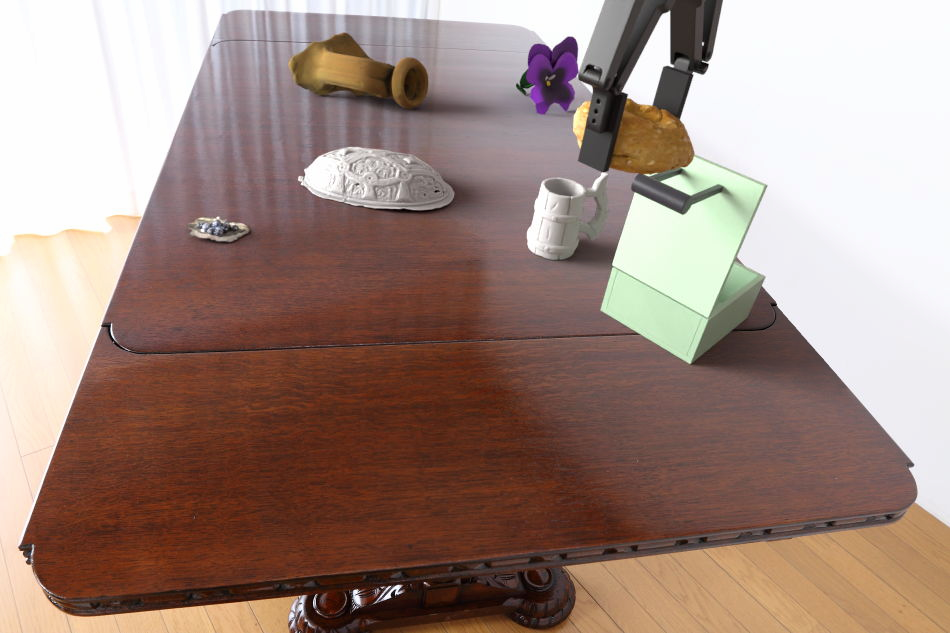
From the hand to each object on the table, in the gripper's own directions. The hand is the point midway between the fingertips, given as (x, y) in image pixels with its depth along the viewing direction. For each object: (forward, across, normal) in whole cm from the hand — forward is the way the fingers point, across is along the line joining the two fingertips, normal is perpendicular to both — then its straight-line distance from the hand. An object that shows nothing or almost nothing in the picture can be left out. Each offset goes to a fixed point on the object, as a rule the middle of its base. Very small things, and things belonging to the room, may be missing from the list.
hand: (627, 152), depth 61 cm
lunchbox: (+28, -22, +1) cm, 36 cm away
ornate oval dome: (+28, -13, -49) cm, 58 cm away
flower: (+28, -69, -61) cm, 96 cm away
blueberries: (+28, +14, -50) cm, 59 cm away
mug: (+28, -24, -19) cm, 41 cm away
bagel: (0, 0, 0) cm, 0 cm away
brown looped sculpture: (+28, -36, -82) cm, 93 cm away
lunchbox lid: (+12, -15, +1) cm, 20 cm away
